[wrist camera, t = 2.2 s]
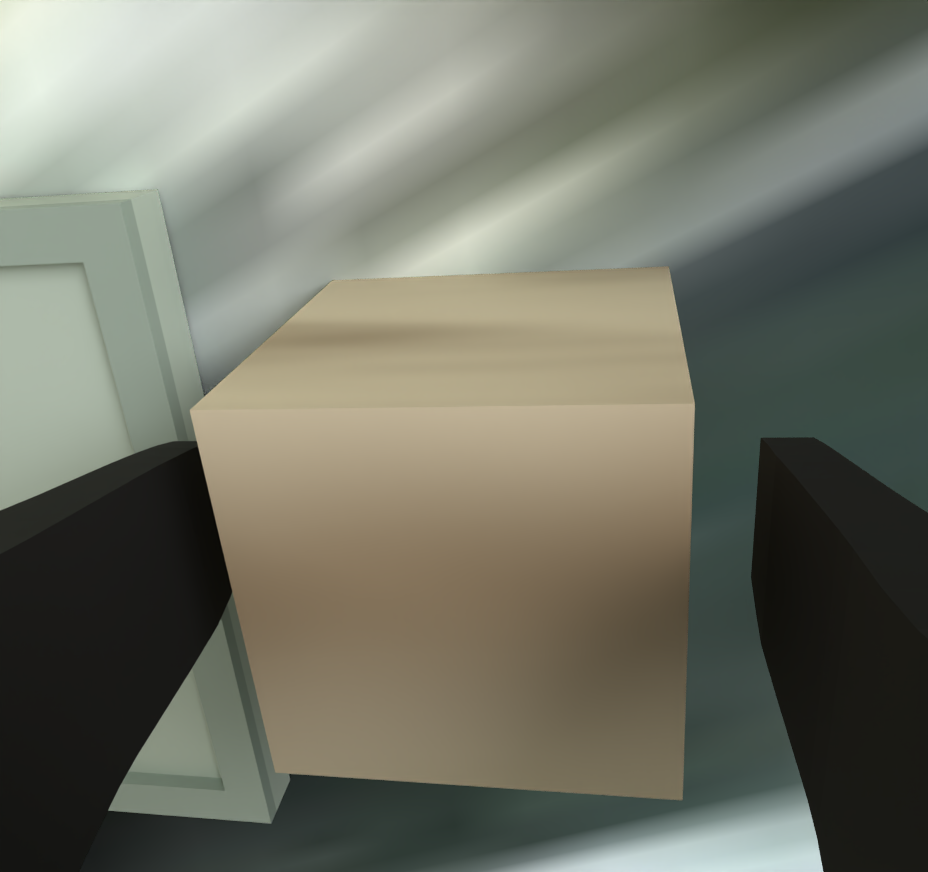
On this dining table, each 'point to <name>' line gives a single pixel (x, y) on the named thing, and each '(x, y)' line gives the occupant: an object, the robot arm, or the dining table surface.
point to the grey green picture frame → (122, 453)
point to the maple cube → (465, 530)
